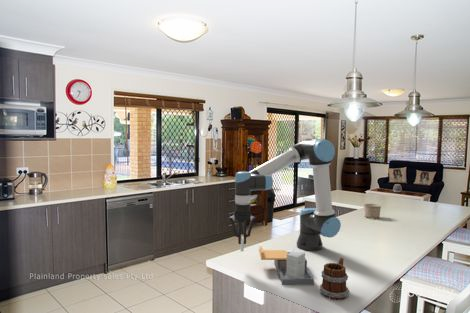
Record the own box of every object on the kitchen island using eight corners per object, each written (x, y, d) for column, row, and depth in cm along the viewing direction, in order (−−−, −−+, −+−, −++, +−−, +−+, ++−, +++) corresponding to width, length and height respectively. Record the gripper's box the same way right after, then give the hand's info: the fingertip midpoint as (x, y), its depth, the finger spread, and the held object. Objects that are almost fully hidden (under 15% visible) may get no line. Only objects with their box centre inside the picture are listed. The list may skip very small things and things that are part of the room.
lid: (286, 251, 172) (286, 245, 172) (290, 259, 161) (290, 253, 161) (258, 251, 172) (259, 245, 172) (261, 259, 160) (261, 253, 160)
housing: (301, 263, 173) (301, 252, 173) (313, 284, 148) (314, 271, 148) (274, 263, 173) (274, 252, 172) (282, 284, 148) (282, 271, 147)
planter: (368, 215, 283) (369, 203, 283) (383, 218, 274) (383, 205, 273) (360, 217, 275) (361, 204, 275) (375, 220, 266) (376, 207, 265)
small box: (294, 271, 160) (294, 249, 159) (304, 274, 156) (305, 252, 156) (285, 276, 153) (286, 254, 153) (296, 280, 150) (297, 257, 149)
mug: (313, 295, 138) (317, 258, 139) (326, 289, 149) (329, 255, 150) (341, 304, 131) (345, 265, 132) (352, 296, 142) (355, 261, 143)
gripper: (255, 201, 168) (254, 247, 170) (229, 201, 168) (228, 247, 169) (256, 204, 161) (255, 253, 162) (229, 204, 160) (229, 252, 162)
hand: (242, 250), depth 166 cm, fingers closed
